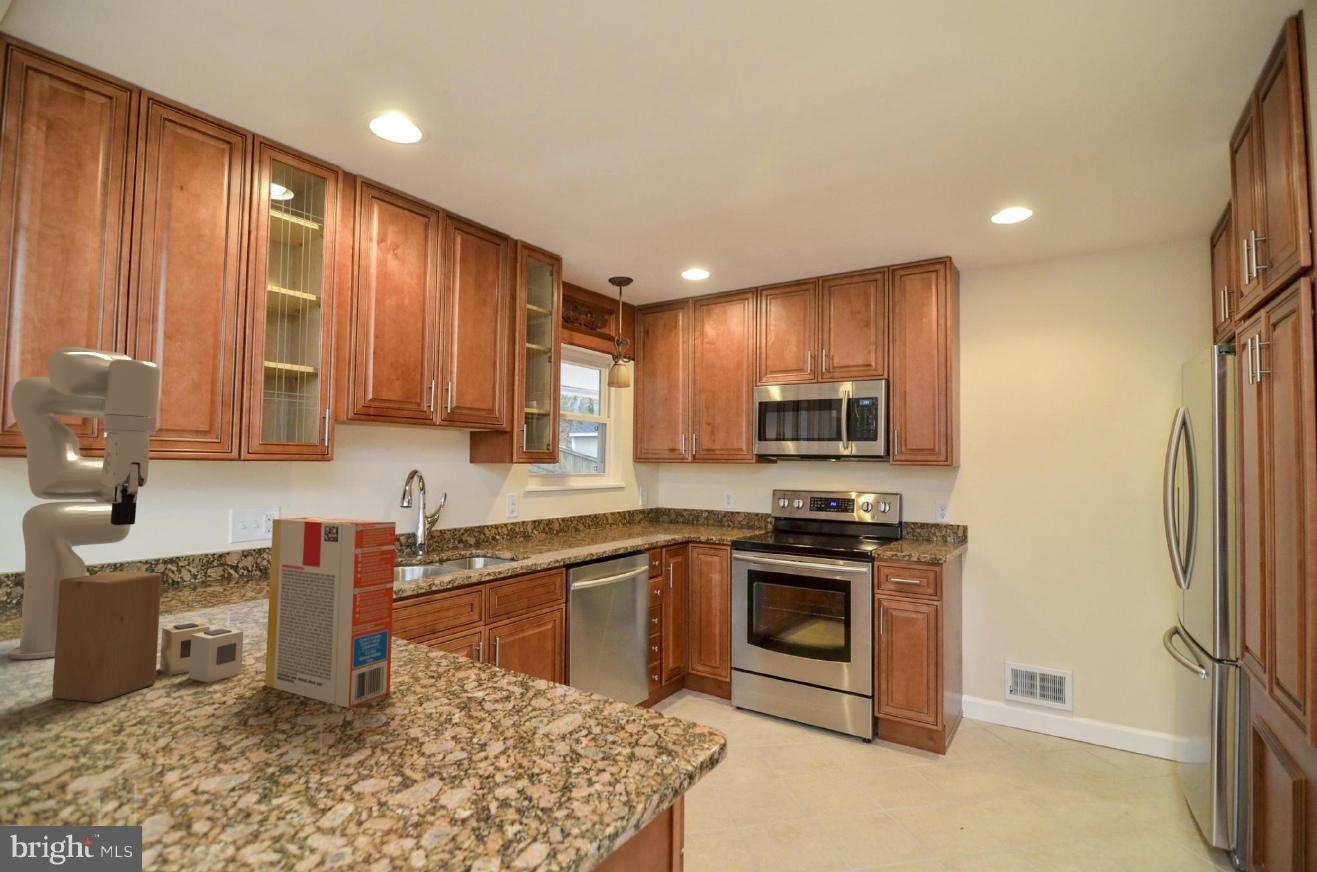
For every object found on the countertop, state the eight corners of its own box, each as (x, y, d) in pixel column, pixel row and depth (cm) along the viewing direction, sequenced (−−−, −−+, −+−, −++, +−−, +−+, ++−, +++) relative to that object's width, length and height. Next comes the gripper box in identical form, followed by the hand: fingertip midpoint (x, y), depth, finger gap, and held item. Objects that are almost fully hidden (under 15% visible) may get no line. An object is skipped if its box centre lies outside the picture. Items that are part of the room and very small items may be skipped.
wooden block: (97, 703, 104) (105, 581, 106) (50, 698, 106) (58, 579, 108) (156, 684, 114) (163, 572, 116) (112, 680, 116) (119, 570, 118)
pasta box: (389, 693, 111) (395, 521, 113) (348, 707, 104) (355, 524, 106) (307, 673, 121) (314, 516, 123) (265, 685, 114) (272, 519, 116)
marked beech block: (159, 669, 123) (162, 626, 124) (196, 662, 128) (198, 620, 129) (171, 675, 119) (173, 631, 120) (207, 667, 124) (210, 625, 125)
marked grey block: (188, 677, 118) (191, 632, 119) (222, 669, 124) (225, 626, 124) (208, 683, 115) (210, 637, 116) (242, 674, 121) (244, 630, 121)
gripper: (93, 424, 120) (86, 521, 119) (115, 424, 111) (107, 529, 110) (143, 427, 126) (136, 519, 125) (167, 427, 116) (160, 527, 116)
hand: (122, 524), depth 117 cm, fingers closed
